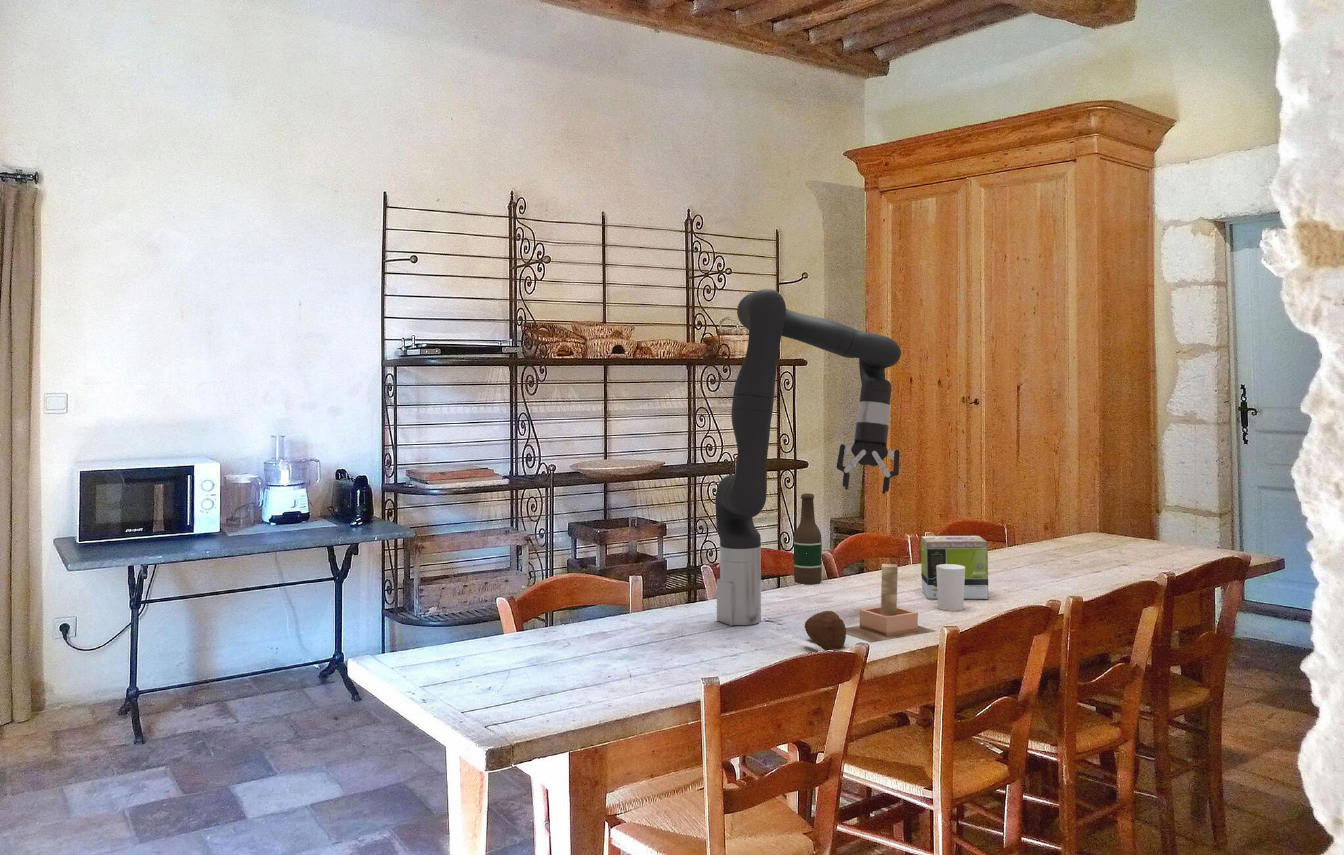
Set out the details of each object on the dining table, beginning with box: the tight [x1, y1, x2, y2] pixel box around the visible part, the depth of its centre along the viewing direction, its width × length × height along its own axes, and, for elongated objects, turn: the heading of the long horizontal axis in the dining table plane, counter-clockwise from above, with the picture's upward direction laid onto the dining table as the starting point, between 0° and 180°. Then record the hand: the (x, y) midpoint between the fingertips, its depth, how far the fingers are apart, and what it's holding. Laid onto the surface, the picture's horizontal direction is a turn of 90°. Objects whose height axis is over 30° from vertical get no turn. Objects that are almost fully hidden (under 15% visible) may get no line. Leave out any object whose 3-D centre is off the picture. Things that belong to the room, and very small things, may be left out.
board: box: [845, 625, 936, 643], centre depth 212 cm, size 18×12×1 cm, turn 119°
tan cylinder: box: [880, 563, 899, 616], centre depth 212 cm, size 4×4×13 cm
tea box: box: [920, 535, 989, 600], centre depth 251 cm, size 15×10×15 cm, turn 84°
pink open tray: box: [859, 606, 919, 637], centre depth 213 cm, size 9×9×4 cm
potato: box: [804, 610, 847, 651], centre depth 202 cm, size 7×10×8 cm
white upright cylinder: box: [936, 564, 965, 612], centre depth 237 cm, size 7×7×10 cm
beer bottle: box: [793, 493, 823, 585], centre depth 270 cm, size 8×8×24 cm
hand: (865, 491), depth 232 cm, fingers open, 8 cm apart
